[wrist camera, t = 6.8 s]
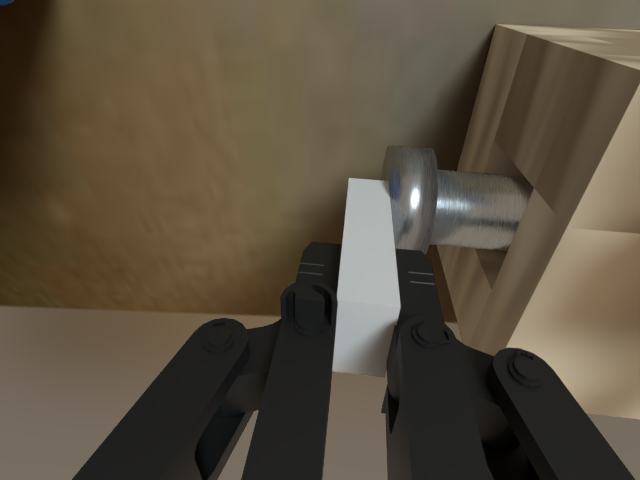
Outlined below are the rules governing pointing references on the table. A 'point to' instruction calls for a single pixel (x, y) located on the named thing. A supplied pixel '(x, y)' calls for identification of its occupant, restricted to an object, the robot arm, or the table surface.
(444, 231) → the pin
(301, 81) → the table surface
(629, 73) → the block
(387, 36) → the table surface
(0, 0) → the beer can
